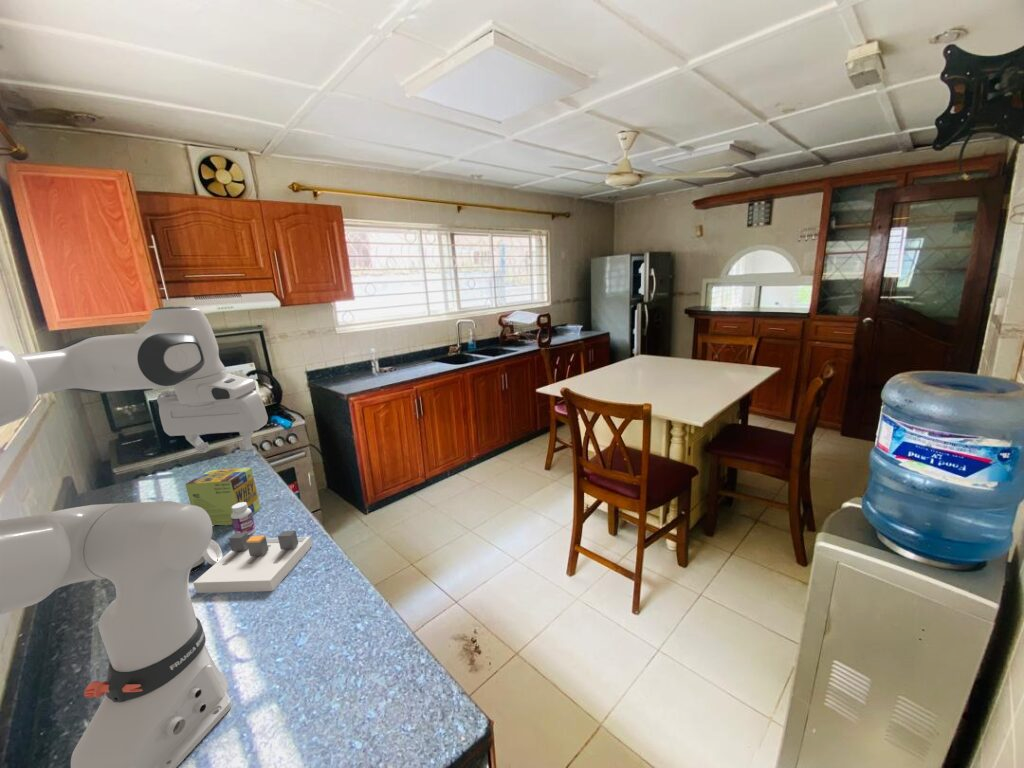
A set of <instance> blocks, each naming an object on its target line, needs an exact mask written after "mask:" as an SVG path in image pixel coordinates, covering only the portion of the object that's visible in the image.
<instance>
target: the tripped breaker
mask: <svg viewBox="0 0 1024 768" xmlns="http://www.w3.org/2000/svg"><path fill="white" fill-rule="evenodd" d="M266 537H267V536H266V535H263V534H262V535H251V536H250V537H249V539H248V540H247V541H246V542H247V546H248V550H249V554H250V556H263V555H264V554H265V553H266V552H267V551H268V550H269V549H268V545H267V541H266Z"/></svg>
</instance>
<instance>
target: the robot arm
mask: <svg viewBox="0 0 1024 768" xmlns="http://www.w3.org/2000/svg"><path fill="white" fill-rule="evenodd" d="M219 349H220V348H219V345H218V342H217V339H216V336H215V334H214V331H213V329H212V326H211V324H210V322H209V319H208V318H207V316H206V315H205V313H204V312H203V311H202V310H201V309H199V308H196V307H192V306H167V307H166V306H162V307H158V308H154V309H152V310H151V312H150V318H149V319H148V321H147V322H146V323H145V324H144V325H142V327H141V328H139V329H137V330H135V331H134V333H124V334H123V333H122V334H121V333H120V334H113V335H112V334H111V335H103V334H102V335H83V336H79V337H76V338H74V339H72V340H69V341H67V342H65V343H64V344H62V345H59V346H58V347H56V348H54V349H51V350H47V351H46V350H45V351H37V352H36V351H35V352H29V353H27V352H26V353H19V354H18V353H17V352H15V351H14V350H12V349H10V348H8V347H6V346H4V345H1V344H0V427H3V426H6V425H9V424H11V423H14V422H16V421H18V420H21V419H22V418H25V417H26V416H27V415H28V414H29V412H31V410H32V409H33V407H34V405H35V403H36V401H37V398H38V395H44V394H49V393H55V392H59V391H60V392H61V391H65V390H69V391H75V392H80V393H85V394H93V395H95V394H105V393H113V392H121V391H134V390H135V391H136V390H152V389H161V388H168V387H173V390H164V391H161V392H160V394H158V396H157V398H156V401H157V404H158V412H159V418H160V422H161V426H162V428H163V429H162V430H163V431H164V433H165V434H166V435H168V436H169V437H175V436H179V437H180V436H184V437H185V440H186V441H187V442H189V444H191V445H192V446H193V447H194V448H195V451H196V453H197V454H205V453H207V452H209V451H210V449H211V448H210V445H209V442H208V441H206V442H204V440H203V439H202V438H201V437H200V435H208V434H209V435H211V434H224V433H225V434H226V433H239V436H240V437H242V440H241V441H240V442H238V447H239V450H240V451H244V452H245V451H249V450H251V449H252V448H253V443H252V441H251V440H252V438H253V434H254V432H256V431H258V430H260V429H261V428H263V427H264V426H266V425H267V423H268V420H269V417H268V414H267V410H266V407H265V404H264V401H263V400H262V398H261V396H260V394H259V393H258V392H256V391H254V390H255V389H256V387H257V385H256V382H255V380H254V379H252V378H248V377H244V376H239V375H235V374H233V373H229V372H227V369H226V367H225V365H224V364H223V362H222V360H221V359H220V355H219V353H220V351H219ZM212 538H213V526H212V522H211V519H210V517H209V515H208V513H207V512H206V511H205V510H204V509H203V508H201V507H199V506H195V505H191V504H190V503H189V504H188V503H183V502H179V501H178V502H177V501H170V500H162V501H147V502H146V501H143V502H141V501H139V502H124V503H122V502H121V503H104V504H103V503H100V504H90V505H89V504H87V505H82V506H76V507H70V508H69V507H68V508H64V509H58V510H54V511H49V512H43V513H41V514H40V513H39V514H37V515H36V514H35V515H30V516H25V517H24V516H23V517H17V518H10V519H8V518H7V519H2V520H0V616H2V615H6V614H8V613H11V612H15V611H19V610H22V609H25V608H27V607H31V606H34V605H36V604H38V603H40V602H41V601H43V600H44V599H46V598H47V597H49V596H50V595H52V593H54V591H55V590H57V589H59V588H61V587H66V586H68V585H72V584H76V583H81V582H82V583H83V582H87V581H88V582H89V581H96V580H106V579H107V580H108V581H110V582H111V583H112V584H113V585H114V588H115V593H116V594H115V599H114V600H112V601H111V602H110V604H108V606H107V607H106V608H105V610H104V611H103V613H102V614H101V615H100V618H99V620H98V625H97V627H98V631H99V632H98V633H99V634H100V637H101V640H102V643H103V645H104V649H105V652H106V654H107V656H108V659H109V663H108V669H107V676H106V680H104V681H100V680H99V681H97V680H94V681H92V682H90V683H88V684H87V686H86V687H85V689H84V692H83V694H84V695H83V696H84V697H85V698H86V699H87V698H89V699H90V698H101V697H102V696H104V695H105V696H104V697H103V699H102V701H101V703H100V705H99V706H98V708H97V710H96V711H95V713H94V715H93V717H92V718H91V720H90V722H89V724H88V726H87V727H86V729H85V730H84V733H83V734H82V736H81V737H80V739H79V741H78V742H77V745H76V746H75V748H74V750H73V751H72V754H71V757H70V768H177V767H178V766H179V765H180V764H181V763H182V762H184V759H186V758H187V756H188V755H189V754H191V753H192V751H193V750H194V749H195V748H196V747H197V746H198V744H200V742H201V741H202V740H203V739H204V738H205V737H206V736H207V735H208V734H209V733H210V732H211V730H212V729H213V728H214V727H215V726H216V725H217V724H218V722H220V721H221V719H222V718H224V716H226V714H227V712H229V711H230V709H231V708H232V706H233V705H232V704H233V702H232V700H231V698H230V696H229V695H228V689H229V683H228V682H229V681H228V679H227V677H226V676H225V674H223V672H222V671H221V670H220V669H219V668H218V667H217V665H216V664H215V662H214V661H213V659H212V656H211V655H210V653H209V649H208V648H207V646H206V641H207V639H206V635H205V631H204V628H203V625H202V623H201V620H200V619H199V618H198V617H197V615H196V613H195V610H194V606H193V602H192V597H191V593H190V588H189V578H190V574H191V573H190V570H191V568H192V566H193V565H194V564H195V563H196V562H197V561H198V560H199V559H200V558H201V557H202V555H203V554H204V553H205V551H206V550H207V548H208V546H209V544H210V541H211V540H212Z"/></svg>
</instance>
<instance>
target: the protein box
mask: <svg viewBox="0 0 1024 768" xmlns="http://www.w3.org/2000/svg"><path fill="white" fill-rule="evenodd" d="M252 470H253V469H252V467H243V468H242V467H241V468H240V467H239V468H227V469H216V470H215V469H213V470H211V469H210V470H208V471H206V472H204V473H203V474H201V475H199V476H197V477H195V478H194V479H191V480H189V482H186V483H184V484H185V485H184V486H185V488H186V492H187V495H188V501H189V504H190V505H195V506H199V507H201V508H203V509H204V510H205V511H206V512H207V513H208V515H209V517H210V519H211V522H212V525H225V526H231V525H230V524H232V520H231V514H232V513H233V511H232V506H233V505H235V504H237V503H241V502H246V503H247V506H248V507H247V508H250V509H251V511H252V516H254V515H255V514H256V513H257V512H258V511H260V510H261V509H262V507H261V503H260V500H259V495H258V491H257V486H256V484H255V483H256V482H255V479H254V475H253V471H252ZM260 508H261V509H260ZM254 513H255V514H254ZM228 524H229V525H228Z"/></svg>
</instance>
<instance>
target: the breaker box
mask: <svg viewBox="0 0 1024 768" xmlns="http://www.w3.org/2000/svg"><path fill="white" fill-rule="evenodd" d="M297 539H298V545H297V546H296V547H295V548H294V549H281V548H280V544H279V540H278V537H267V538H266V541H267V545H268V549H269V550H268V551H267V552H266V553H265V554H264V555H263V556H250V554H249V550H248V548H247V549H246V550H245V551H232V549H231V550H230V551H228V552H227V553H226V554H225V555H224V556H222V558H221V559H220V560H219V561H218V562H217V563H216V564H214V565H212V566H211V567H210V568H209V569H207V570H206V571H205V572H204V573H203V574H201V575H200V576H199V577H198V578H197V579H196V580H194V581H193V582H192V583H193V587H194V591H195V594H208V593H209V594H213V593H215V594H217V593H218V594H219V593H250V592H253V593H255V592H273V591H275V589H276V588H277V587H278V586H279V585H280V583H281V582H282V581H283V580H284V579H285V578H286V576H287V575H288V574H290V572H291V571H292V570H293V569H294V568H295V567H296V565H297V564H298V563H299V562H300V561H301V559H302V558H303V557H304V556H305V555H306V554H307V553H308V552H309V550H311V548H313V543H312V542H313V541H312V538H311V536H297ZM310 547H311V548H310ZM306 552H307V553H306ZM299 560H300V561H299Z"/></svg>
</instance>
